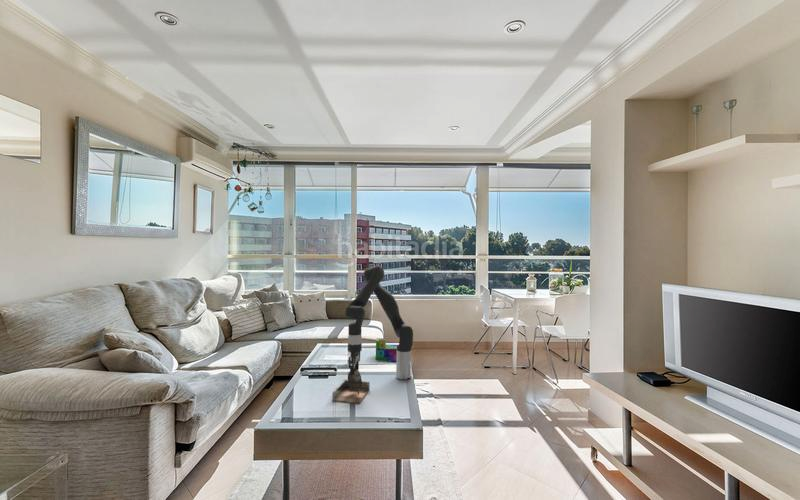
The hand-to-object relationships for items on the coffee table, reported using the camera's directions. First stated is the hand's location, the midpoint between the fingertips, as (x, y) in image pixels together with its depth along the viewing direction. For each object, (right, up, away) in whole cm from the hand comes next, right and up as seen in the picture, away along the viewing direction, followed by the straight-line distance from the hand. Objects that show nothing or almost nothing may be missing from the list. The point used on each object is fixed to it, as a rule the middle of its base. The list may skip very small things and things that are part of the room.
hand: (354, 372), depth 210 cm
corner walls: (-2, -13, +1) cm, 13 cm away
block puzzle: (+20, -13, +71) cm, 74 cm away
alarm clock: (0, -11, 0) cm, 11 cm away
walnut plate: (-2, -13, +1) cm, 13 cm away
